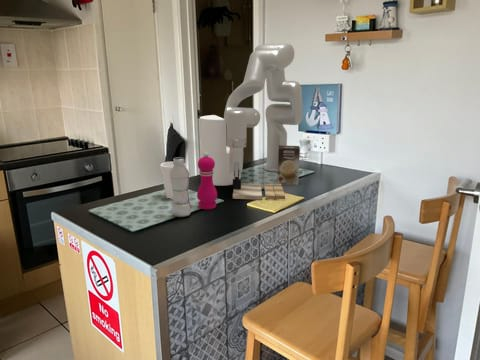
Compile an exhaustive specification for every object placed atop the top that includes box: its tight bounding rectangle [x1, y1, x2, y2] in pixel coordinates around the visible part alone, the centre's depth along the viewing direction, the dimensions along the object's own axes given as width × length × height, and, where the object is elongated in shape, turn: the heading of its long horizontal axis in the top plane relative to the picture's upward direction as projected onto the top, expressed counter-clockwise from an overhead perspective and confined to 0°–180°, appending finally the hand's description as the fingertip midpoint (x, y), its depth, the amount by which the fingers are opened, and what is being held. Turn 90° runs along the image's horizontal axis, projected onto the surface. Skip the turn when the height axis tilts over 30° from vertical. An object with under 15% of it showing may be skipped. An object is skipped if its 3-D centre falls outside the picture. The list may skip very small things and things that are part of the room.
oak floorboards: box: [263, 183, 286, 200], centre depth 159 cm, size 16×7×2 cm, turn 179°
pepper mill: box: [196, 153, 218, 210], centre depth 142 cm, size 7×7×20 cm
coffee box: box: [276, 145, 301, 186], centre depth 171 cm, size 9×6×16 cm
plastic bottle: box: [170, 156, 192, 218], centre depth 134 cm, size 6×7×20 cm
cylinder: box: [199, 114, 242, 186], centre depth 175 cm, size 17×17×28 cm
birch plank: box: [232, 182, 263, 201], centre depth 159 cm, size 16×11×2 cm
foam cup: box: [159, 161, 186, 200], centre depth 155 cm, size 10×9×13 cm
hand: (236, 188), depth 158 cm, fingers closed
